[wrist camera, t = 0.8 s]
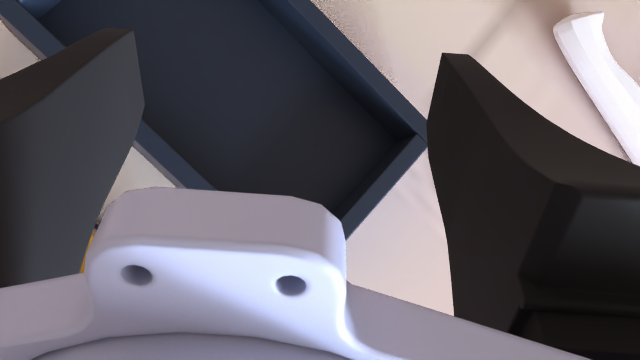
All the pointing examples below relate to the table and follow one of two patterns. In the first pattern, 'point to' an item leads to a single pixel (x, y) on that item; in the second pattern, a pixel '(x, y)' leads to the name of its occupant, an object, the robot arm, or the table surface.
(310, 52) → the case
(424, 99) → the table surface
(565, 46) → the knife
